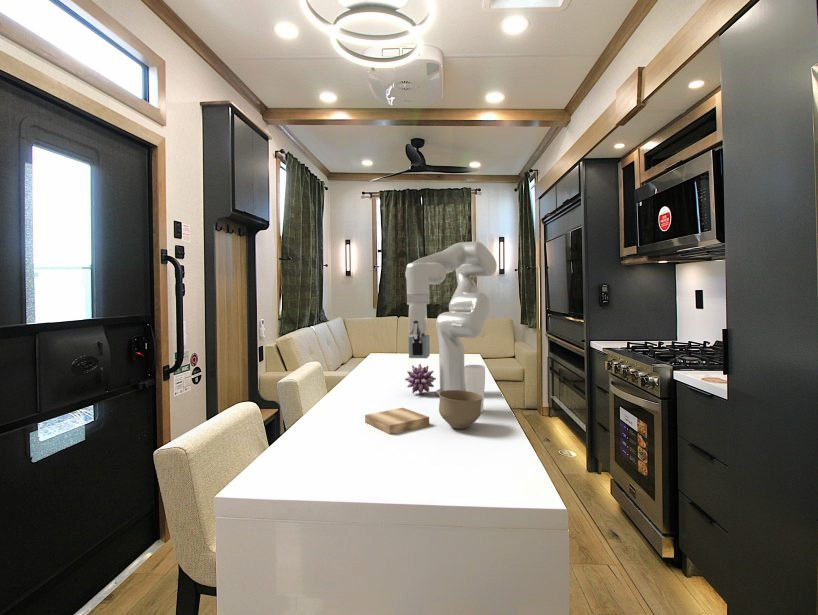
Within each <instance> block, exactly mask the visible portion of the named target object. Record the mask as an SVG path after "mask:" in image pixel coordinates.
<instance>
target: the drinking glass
mask: <svg viewBox="0 0 818 615" xmlns="http://www.w3.org/2000/svg"><path fill="white" fill-rule="evenodd" d="M464 378H465V389H466V391H469V392H474V393H477V394H479V395H481V396H482V401H481V413H483V411H484V401H485V387H486V366H485V365H482V364H467V365H464Z"/></svg>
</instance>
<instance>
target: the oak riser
mask: <svg viewBox="0 0 818 615" xmlns="http://www.w3.org/2000/svg"><path fill="white" fill-rule="evenodd" d="M366 423H367V424H366ZM364 424H366V425H368V424H369V425H368V426H370V425H371V427H372V426H373V428H375V429H377V430H379V431H381V432H383V433H386V434H388V435H394V434H398V433H402V432H406V431H411V430H414V429H419V428H424V427H428V426H430V417H429V416H427V415H426V414H425V415H424V414H421V413H420V412H416V411H413V410H411V409H408V408H405V407H399V408H393V409H390V410H389V409H387V410H384V411H378V412H374V413H368V414H365V415H364Z"/></svg>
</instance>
